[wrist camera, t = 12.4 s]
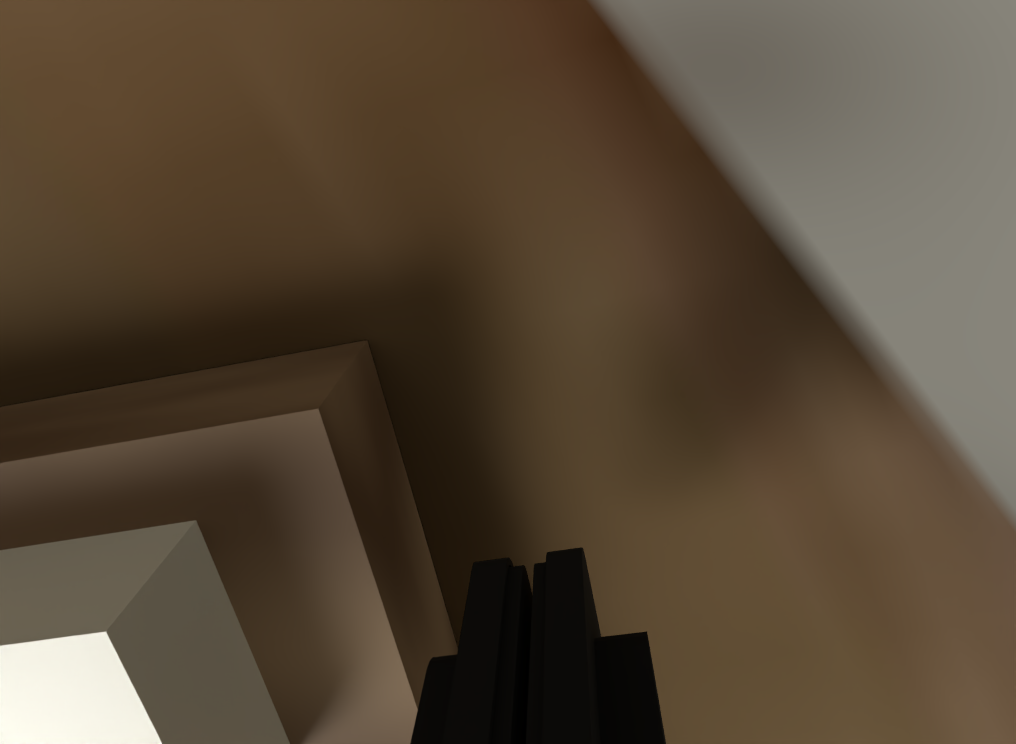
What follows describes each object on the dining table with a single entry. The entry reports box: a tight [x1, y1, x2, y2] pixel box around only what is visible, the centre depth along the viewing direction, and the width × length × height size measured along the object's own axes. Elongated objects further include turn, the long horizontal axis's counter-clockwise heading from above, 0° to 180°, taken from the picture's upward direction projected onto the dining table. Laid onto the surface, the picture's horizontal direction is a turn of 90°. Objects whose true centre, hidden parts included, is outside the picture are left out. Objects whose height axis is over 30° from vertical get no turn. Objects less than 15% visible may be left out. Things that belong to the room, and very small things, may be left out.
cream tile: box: [0, 520, 290, 744], centre depth 12 cm, size 5×5×2 cm
